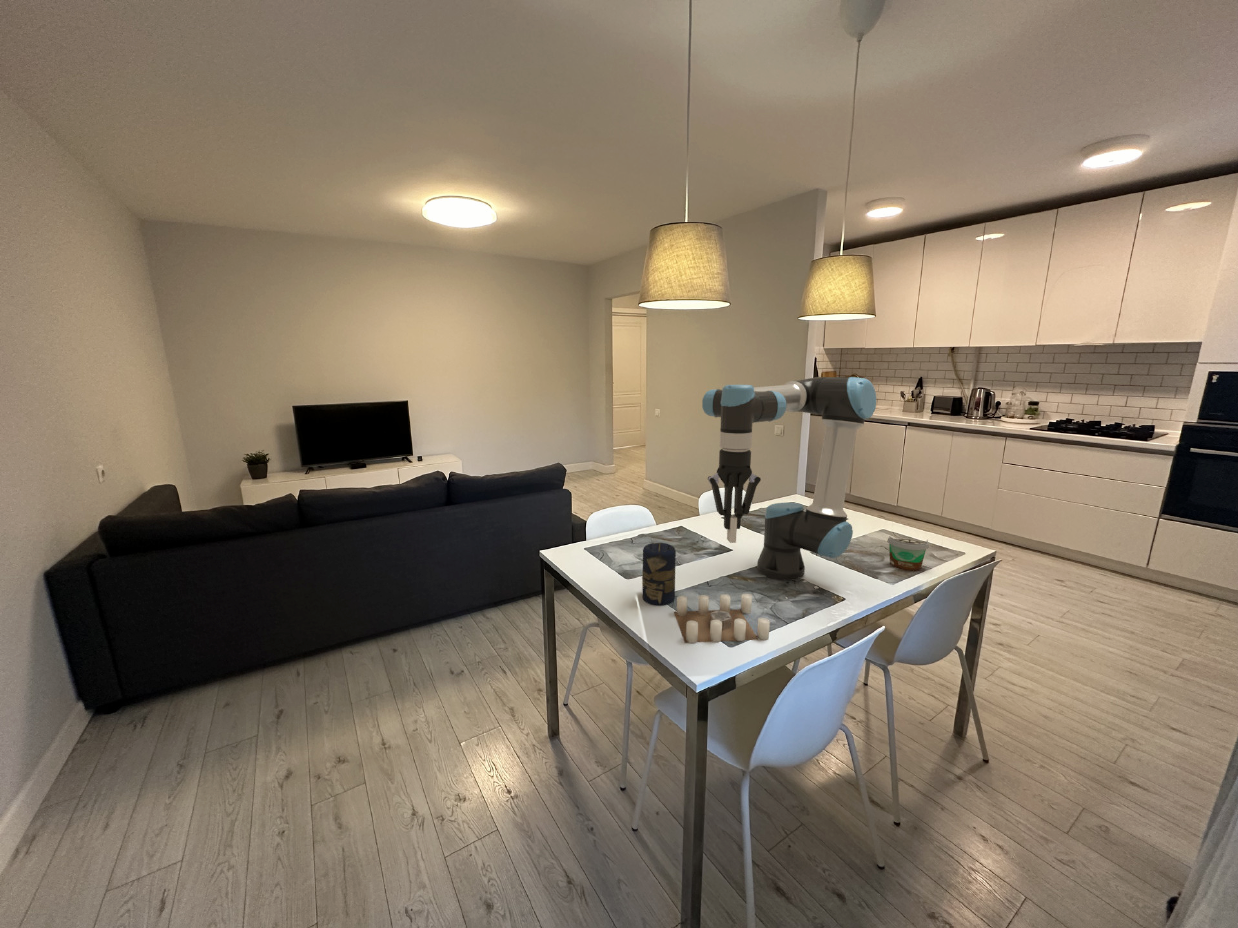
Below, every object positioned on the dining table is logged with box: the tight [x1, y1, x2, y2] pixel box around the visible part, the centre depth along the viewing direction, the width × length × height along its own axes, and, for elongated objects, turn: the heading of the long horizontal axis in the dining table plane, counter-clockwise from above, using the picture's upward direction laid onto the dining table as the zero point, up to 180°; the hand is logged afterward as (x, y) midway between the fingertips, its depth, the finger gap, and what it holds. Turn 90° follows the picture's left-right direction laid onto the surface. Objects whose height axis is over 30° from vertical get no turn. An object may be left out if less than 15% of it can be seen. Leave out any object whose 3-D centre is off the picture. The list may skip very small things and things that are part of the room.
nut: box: [710, 609, 731, 630], centre depth 125 cm, size 5×6×3 cm
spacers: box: [676, 593, 771, 644], centre depth 125 cm, size 21×16×5 cm
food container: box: [887, 535, 930, 572], centre depth 160 cm, size 12×6×10 cm, turn 70°
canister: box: [641, 542, 677, 607], centre depth 138 cm, size 10×10×18 cm
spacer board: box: [673, 608, 759, 644], centre depth 126 cm, size 26×15×1 cm, turn 94°
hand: (731, 540), depth 121 cm, fingers closed
